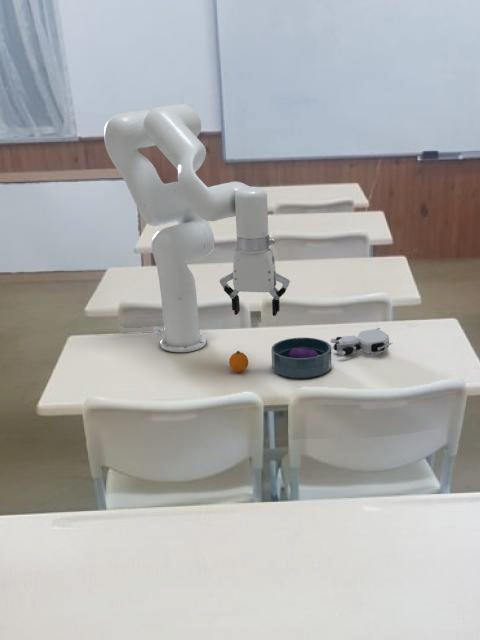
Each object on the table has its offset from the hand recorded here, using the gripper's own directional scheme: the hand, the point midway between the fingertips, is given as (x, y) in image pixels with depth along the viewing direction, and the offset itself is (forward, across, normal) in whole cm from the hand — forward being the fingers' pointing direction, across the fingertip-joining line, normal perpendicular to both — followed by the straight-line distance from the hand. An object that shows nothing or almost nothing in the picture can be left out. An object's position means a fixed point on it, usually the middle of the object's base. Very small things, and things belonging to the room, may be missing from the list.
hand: (256, 313), depth 210 cm
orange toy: (+15, +5, +2) cm, 16 cm away
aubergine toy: (+14, -11, -3) cm, 18 cm away
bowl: (+15, -11, -2) cm, 19 cm away
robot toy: (+15, -25, -15) cm, 33 cm away
